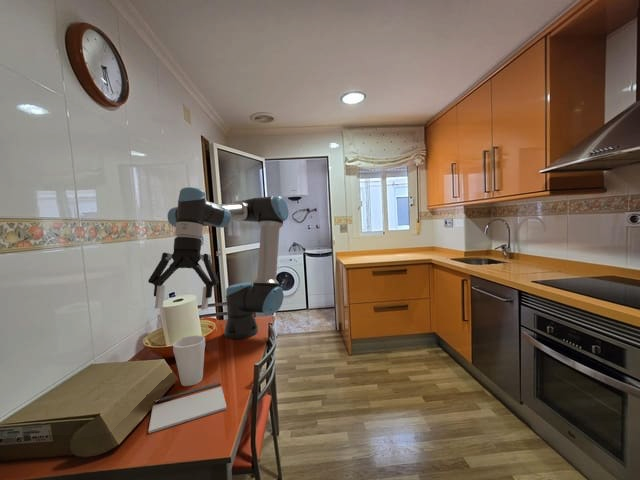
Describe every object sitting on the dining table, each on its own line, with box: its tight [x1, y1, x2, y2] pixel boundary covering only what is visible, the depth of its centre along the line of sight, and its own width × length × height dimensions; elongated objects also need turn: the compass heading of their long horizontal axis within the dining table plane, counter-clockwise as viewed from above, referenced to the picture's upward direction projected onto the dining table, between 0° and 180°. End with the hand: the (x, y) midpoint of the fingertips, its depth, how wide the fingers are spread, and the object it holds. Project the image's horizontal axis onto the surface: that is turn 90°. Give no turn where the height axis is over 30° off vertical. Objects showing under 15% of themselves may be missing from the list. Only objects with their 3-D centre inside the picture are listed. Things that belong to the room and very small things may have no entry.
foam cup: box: [172, 335, 206, 387], centre depth 90 cm, size 10×9×13 cm
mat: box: [148, 386, 227, 434], centre depth 76 cm, size 18×11×1 cm, turn 116°
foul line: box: [159, 381, 222, 403], centre depth 83 cm, size 18×1×1 cm, turn 116°
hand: (181, 308), depth 82 cm, fingers open, 13 cm apart
